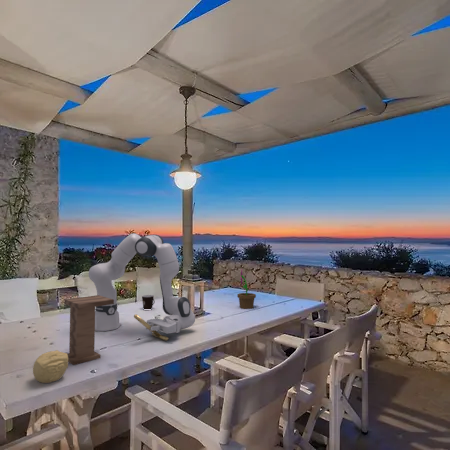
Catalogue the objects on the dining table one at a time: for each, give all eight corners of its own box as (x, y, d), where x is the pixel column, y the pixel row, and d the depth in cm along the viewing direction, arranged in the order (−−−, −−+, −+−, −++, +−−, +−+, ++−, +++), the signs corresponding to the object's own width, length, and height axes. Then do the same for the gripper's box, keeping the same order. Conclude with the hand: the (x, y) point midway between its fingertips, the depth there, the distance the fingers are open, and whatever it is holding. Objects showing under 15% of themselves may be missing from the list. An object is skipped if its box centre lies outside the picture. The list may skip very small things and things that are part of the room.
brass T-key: (154, 333, 189) (152, 336, 188) (128, 311, 178) (126, 314, 177) (169, 338, 179) (167, 341, 178) (143, 315, 168) (140, 319, 167)
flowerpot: (238, 305, 270) (238, 267, 271) (256, 306, 268) (256, 268, 269) (236, 309, 256) (236, 269, 257) (255, 310, 254) (255, 270, 255)
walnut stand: (61, 356, 154) (62, 299, 155) (97, 348, 166) (98, 295, 167) (75, 366, 143) (76, 304, 144) (112, 356, 155) (113, 299, 156)
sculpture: (40, 389, 122) (40, 359, 122) (28, 379, 130) (28, 351, 130) (71, 379, 131) (72, 351, 131) (58, 370, 139) (59, 344, 139)
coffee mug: (140, 308, 256) (141, 295, 256) (152, 307, 259) (152, 294, 259) (143, 312, 245) (143, 298, 245) (155, 311, 248) (155, 297, 249)
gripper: (159, 314, 195) (138, 318, 185) (181, 321, 181) (159, 325, 171) (159, 325, 195) (138, 330, 185) (181, 333, 181) (159, 338, 171)
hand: (148, 328), depth 178 cm, fingers closed on brass T-key, 2 cm apart
